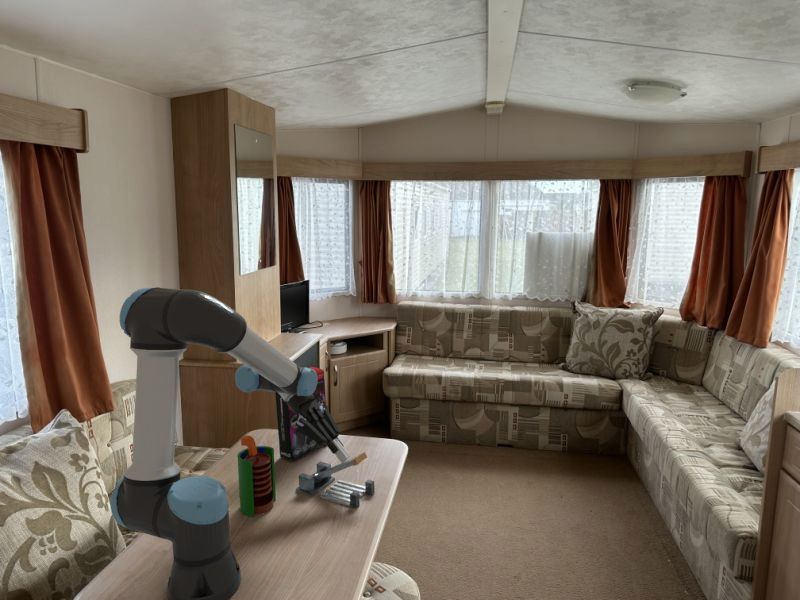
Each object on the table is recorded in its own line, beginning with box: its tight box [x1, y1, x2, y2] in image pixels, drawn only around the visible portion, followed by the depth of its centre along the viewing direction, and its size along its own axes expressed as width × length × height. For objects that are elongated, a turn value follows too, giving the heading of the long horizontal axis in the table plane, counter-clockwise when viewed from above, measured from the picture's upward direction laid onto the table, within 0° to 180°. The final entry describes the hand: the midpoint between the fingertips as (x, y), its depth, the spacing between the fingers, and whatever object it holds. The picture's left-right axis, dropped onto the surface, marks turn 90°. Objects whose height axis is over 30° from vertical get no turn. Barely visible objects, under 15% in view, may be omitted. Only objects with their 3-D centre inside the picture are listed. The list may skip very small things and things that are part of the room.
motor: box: [237, 435, 277, 518], centre depth 153 cm, size 10×9×20 cm
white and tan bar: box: [310, 451, 368, 483], centre depth 161 cm, size 5×2×20 cm
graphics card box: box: [274, 366, 327, 462], centre depth 187 cm, size 17×7×27 cm, turn 143°
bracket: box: [295, 461, 375, 509], centre depth 162 cm, size 11×20×5 cm, turn 61°
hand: (346, 459), depth 159 cm, fingers closed
